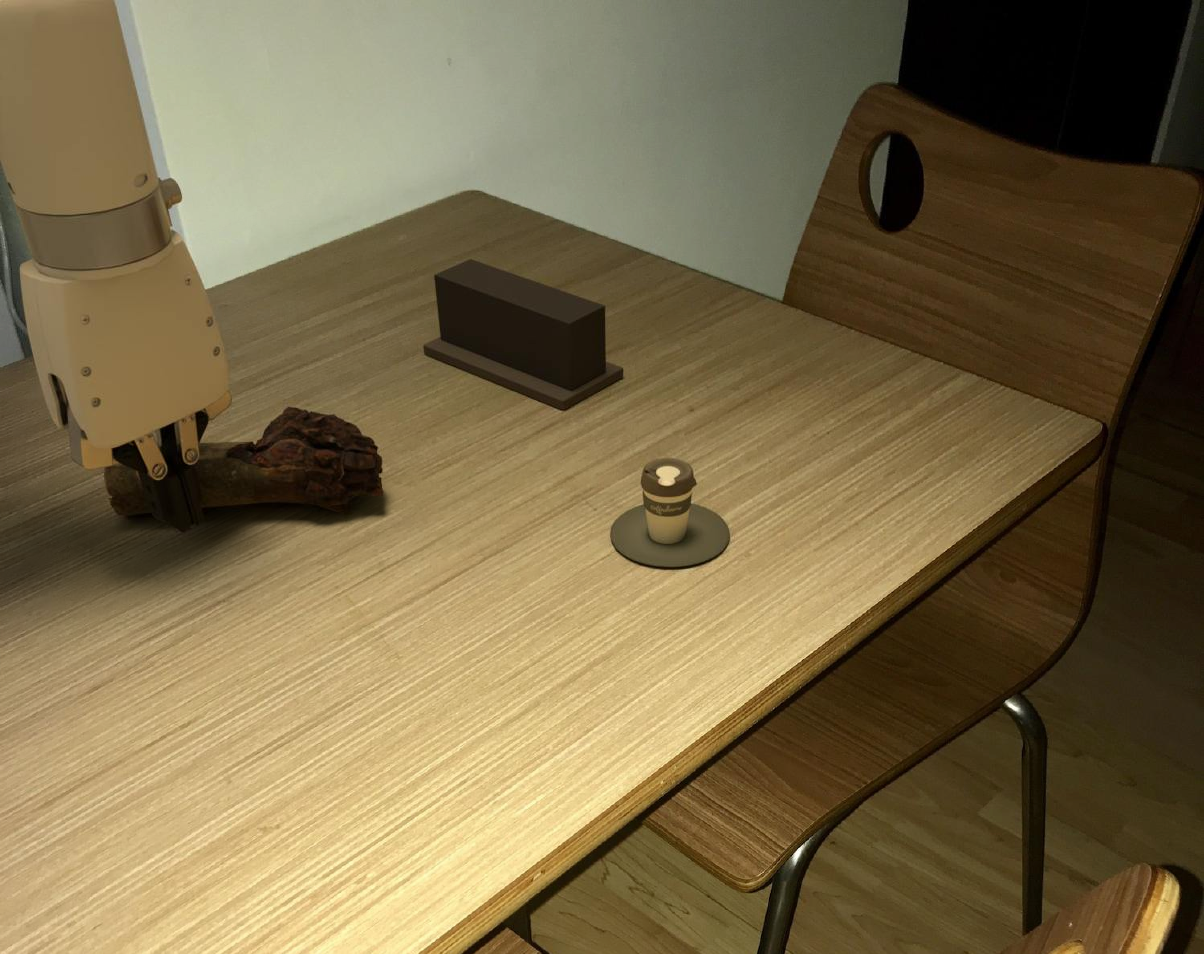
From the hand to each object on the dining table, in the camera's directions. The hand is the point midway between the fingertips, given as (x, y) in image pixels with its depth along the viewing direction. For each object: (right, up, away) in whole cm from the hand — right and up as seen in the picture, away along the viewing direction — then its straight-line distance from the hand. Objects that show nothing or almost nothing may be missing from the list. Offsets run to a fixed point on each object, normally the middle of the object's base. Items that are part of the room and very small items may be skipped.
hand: (180, 520), depth 83 cm
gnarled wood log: (+4, +2, +5) cm, 7 cm away
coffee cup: (+31, -1, +1) cm, 31 cm away
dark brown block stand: (+21, +16, +19) cm, 32 cm away
